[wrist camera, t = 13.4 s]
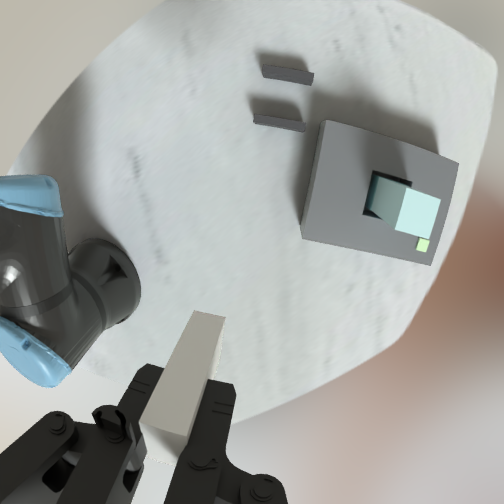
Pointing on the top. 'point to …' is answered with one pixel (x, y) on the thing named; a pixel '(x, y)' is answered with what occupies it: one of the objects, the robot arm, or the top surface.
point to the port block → (356, 188)
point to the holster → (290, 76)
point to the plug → (402, 206)
